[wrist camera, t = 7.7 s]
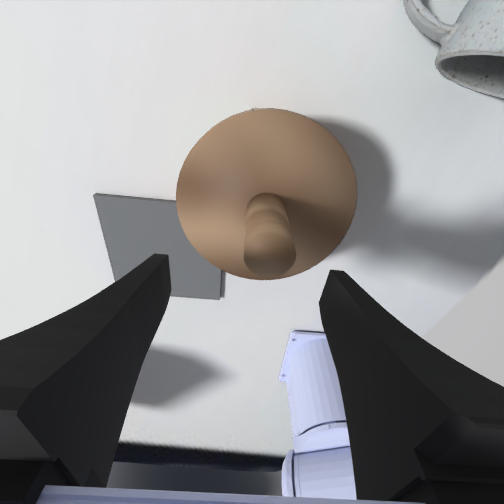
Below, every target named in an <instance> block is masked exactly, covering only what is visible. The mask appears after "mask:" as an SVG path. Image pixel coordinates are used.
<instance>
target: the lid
mask: <svg viewBox="0 0 504 504" xmlns="http://www.w3.org/2000/svg"><path fill="white" fill-rule="evenodd" d="M356 202H357V183H356V178H355V173H354V169H353V166H352V164H351V161H350V159H349V157H348V155H347V153H346V152H345V150H344V148H343V147H342V146H341V144H340V143H339V142H338V141H337V139H336V138H335V137H334V136H333V135H332V134H331V133H330V132H328V131H327V130H326V129H325V128H323V127H322V126H320V125H319V124H317V123H316V122H314V121H313V120H311V119H309V118H307V117H305V116H303V115H301V114H298V113H294V112H291V111H288V110H281V109H274V108H269V109H255V110H249V111H245V112H242V113H239V114H236V115H233V116H231V117H229V118H227V119H225V120H223V121H221V122H220V123H218V124H217V125H215V126H214V127H213V128H211V129H210V130H209V131H208V132H207V133H206V134H205V135H204V136H203V137H202V138H201V139H200V140H199V141H198V142H197V143H196V144H195V146H194V147H193V148H192V149H191V151H190V153H189V154H188V156H187V158H186V159H185V161H184V164H183V166H182V169H181V171H180V174H179V178H178V183H177V191H176V204H177V211H178V217H179V220H180V223H181V226H182V228H183V231H184V233H185V235H186V237H187V238H188V240H189V241H190V243H191V244H192V246H193V247H194V248H195V249H196V250H197V252H198V253H199V254H200V255H201V256H203V257H204V258H205V259H206V260H207V261H208V262H210V263H211V264H213V265H214V266H216V267H217V268H219V269H221V270H223V271H225V272H227V273H230V274H232V275H235V276H239V277H242V278H247V279H255V280H274V279H281V278H286V277H290V276H293V275H296V274H299V273H302V272H304V271H306V270H308V269H310V268H312V267H313V266H315V265H317V264H318V263H320V262H321V261H322V260H324V259H325V258H326V257H327V256H328V255H329V254H331V253H332V252H333V251H334V249H335V248H336V247H337V246H338V245H339V244H340V242H341V241H342V239H343V238H344V236H345V235H346V233H347V231H348V229H349V227H350V225H351V222H352V219H353V216H354V213H355V208H356Z"/></svg>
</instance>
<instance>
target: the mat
mask: <svg viewBox="0 0 504 504" xmlns="http://www.w3.org/2000/svg"><path fill="white" fill-rule="evenodd" d="M93 197H94V200H95V204H96V208H97V212H98V216H99V220H100V224H101V228H102V232H103V236H104V240H105V244H106V248H107V252H108V255H109V259H110V263H111V267H112V271H113V275H114V279H115V282H116V281H118V280H119V279H120V278H122V277H123V276H125V275H126V274H127V273H129V272H130V271H131V270H133V269H134V268H136V267H137V266H138V265H140V264H141V263H142V262H143V261H145V260H146V259H147V258H149V257H150V256H151V255H153V254H154V253H156V254H167V255H169V265H170V277H171V289H172V290H171V294H170V296H174V297H187V298H200V299H213V300H220V288H221V269H219V268H217V267H216V266H214V265H213V264H211V263H210V262H208V261H207V260H206V259H205V258H204V257H203V256H201V255H200V254H199V253H198V252H197V250H196V249H195V248H194V247H193V246H192V244H191V243H190V241H189V240H188V238H187V237H186V235H185V233H184V231H183V228H182V226H181V223H180V220H179V217H178V211H177V204H176V201H172V200H162V199H151V198H140V197H130V196H119V195H108V194H98V193H96V194H94V195H93Z"/></svg>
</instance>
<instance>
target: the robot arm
mask: <svg viewBox="0 0 504 504" xmlns="http://www.w3.org/2000/svg"><path fill="white" fill-rule="evenodd" d="M171 290H172V289H171V277H170V265H169V255H167V254H156V253H154V254H153V255H151V256H150V257H149V258H147V259H146V260H145V261H143V262H142V263H141V264H140V265H138V266H137V267H136V268H134V269H133V270H131V271H130V272H129V273H127V274H126V275H125V276H123V277H122V278H120V279H119V280H118V281H116V282H114V283H113V284H111V285H110V286H108V287H107V288H105V289H104V290H102V291H101V292H99V293H98V294H96V295H94V296H93V297H91V298H89V299H88V300H86V301H84V302H82V303H81V304H79V305H77V306H75V307H73V308H71V309H69V310H68V311H66V312H63V313H61V314H59V315H57V316H55V317H53V318H51V319H49V320H47V321H45V322H43V323H40V324H38V325H36V326H34V327H31V328H29V329H27V330H24V331H22V332H20V333H17V334H15V335H12V336H10V337H7V338H5V339H2V340H0V504H504V387H503V386H501V385H499V384H497V383H495V382H493V381H491V380H489V379H487V378H486V377H484V376H482V375H480V374H479V373H477V372H475V371H473V370H471V369H470V368H468V367H466V366H464V365H463V364H461V363H459V362H458V361H456V360H454V359H453V358H451V357H450V356H448V355H446V354H445V353H443V352H442V351H440V350H439V349H437V348H436V347H434V346H432V345H431V344H429V343H428V342H427V341H425V340H424V339H422V338H421V337H420V336H418V335H417V334H416V333H414V332H413V331H411V330H410V329H409V328H407V327H406V326H405V325H403V324H402V323H401V322H400V321H398V320H397V319H396V318H395V317H394V316H392V315H391V314H390V313H389V312H388V311H386V310H385V309H384V308H383V307H382V306H381V305H380V304H379V303H377V302H376V301H375V300H374V299H373V298H372V297H371V296H370V295H369V294H368V293H367V292H366V291H365V290H364V289H362V288H361V287H360V286H359V285H358V284H357V283H356V282H355V281H354V280H353V279H352V278H351V277H350V276H349V275H348V274H347V273H345V272H344V271H339V270H330V272H329V275H328V278H327V281H326V284H325V286H324V289H323V292H322V295H321V298H320V301H319V307H320V314H321V320H322V325H323V328H324V332H325V333H312V332H298V331H294V332H292V333H291V334H290V338H289V341H288V345H287V349H286V352H285V356H284V360H283V363H282V367H281V371H280V374H279V381H281V382H287V390H288V400H289V409H290V418H291V427H292V432H293V435H294V437H293V445H294V450H289V451H288V453H287V455H286V458H285V460H284V462H283V467H282V492H283V496H266V495H245V494H223V493H202V492H181V491H160V490H139V489H118V488H117V489H116V488H106V486H107V482H108V478H109V474H110V471H111V467H112V463H113V460H114V456H115V452H116V448H117V445H118V441H119V438H120V434H121V431H122V427H123V424H124V420H125V417H126V413H127V410H128V407H129V404H130V400H131V397H132V394H133V391H134V388H135V385H136V381H137V378H138V375H139V372H140V369H141V366H142V364H143V361H144V359H145V356H146V354H147V351H148V349H149V347H150V345H151V342H152V340H153V338H154V336H155V334H156V331H157V329H158V327H159V325H160V322H161V320H162V318H163V315H164V313H165V311H166V308H167V304H168V301H169V298H170V294H171Z"/></svg>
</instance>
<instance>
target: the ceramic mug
mask: <svg viewBox="0 0 504 504" xmlns="http://www.w3.org/2000/svg"><path fill="white" fill-rule="evenodd" d="M403 3H404V7H405V10H406V14H407V15H408V17H409V19H410V20H411V22H412V23H413V25H414V26H415V27H416V28H417V29H418V30H419V31H420V32H422V33H423V34H425V35H426V36H427V37H429V38H430V39H432V40H434V41H436V42H439V43H440V44H441V49H440V51H439V53H438V55H437V57H436V60H435V66H436V68H437V69H438V70H439V72H440V73H441V74H442V75H443V76H444V77H446V78H449V79H451V80H452V81H454V82H456V83H457V84H459V85H461V86H464V87H467V88H469V89H472V90H474V91H477V92H482V93H484V94H488V95H492V96H496V97H500V98H503V99H504V0H469V1H468V2H467V4H466V6H465V8H464V9H463V10H462V12H461V13H460V15H459V17H458V19H457V21H456V23H455V24H454V25H448V24H445V23H443V22H441V21H440V20H439V19H438V17H436V16H434V15H433V14H432V13H431V12H430V11H429V10H428V9H427V8H426V7H425V6H424V4H423V2H422V1H421V0H403Z"/></svg>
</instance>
